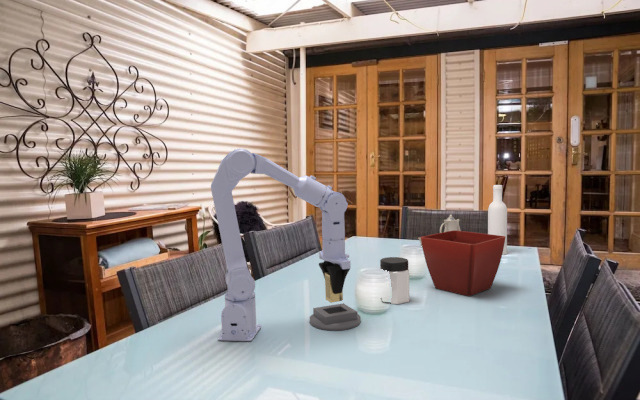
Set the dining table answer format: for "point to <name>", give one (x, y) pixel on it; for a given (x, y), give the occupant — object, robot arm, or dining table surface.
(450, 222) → the chinaware
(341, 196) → the robot arm
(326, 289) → the shaft
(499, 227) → the bottle
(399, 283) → the jar
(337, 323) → the hub
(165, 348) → the dining table surface
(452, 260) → the plant pot
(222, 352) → the dining table surface
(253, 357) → the dining table surface
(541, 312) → the dining table surface
